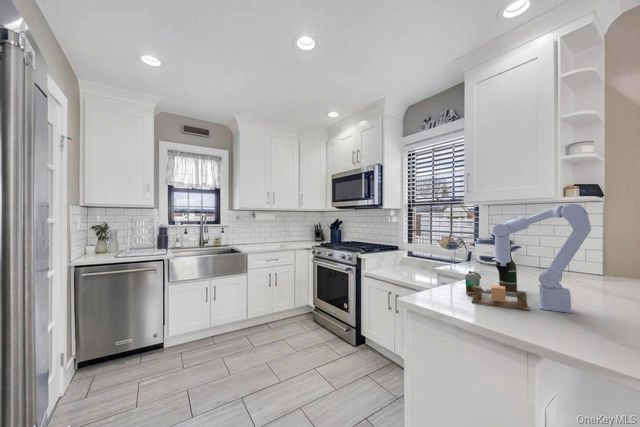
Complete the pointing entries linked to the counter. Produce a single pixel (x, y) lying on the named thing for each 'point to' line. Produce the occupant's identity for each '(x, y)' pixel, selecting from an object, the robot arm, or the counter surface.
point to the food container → (472, 281)
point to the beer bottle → (510, 277)
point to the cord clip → (498, 293)
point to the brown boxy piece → (518, 305)
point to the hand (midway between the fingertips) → (503, 278)
